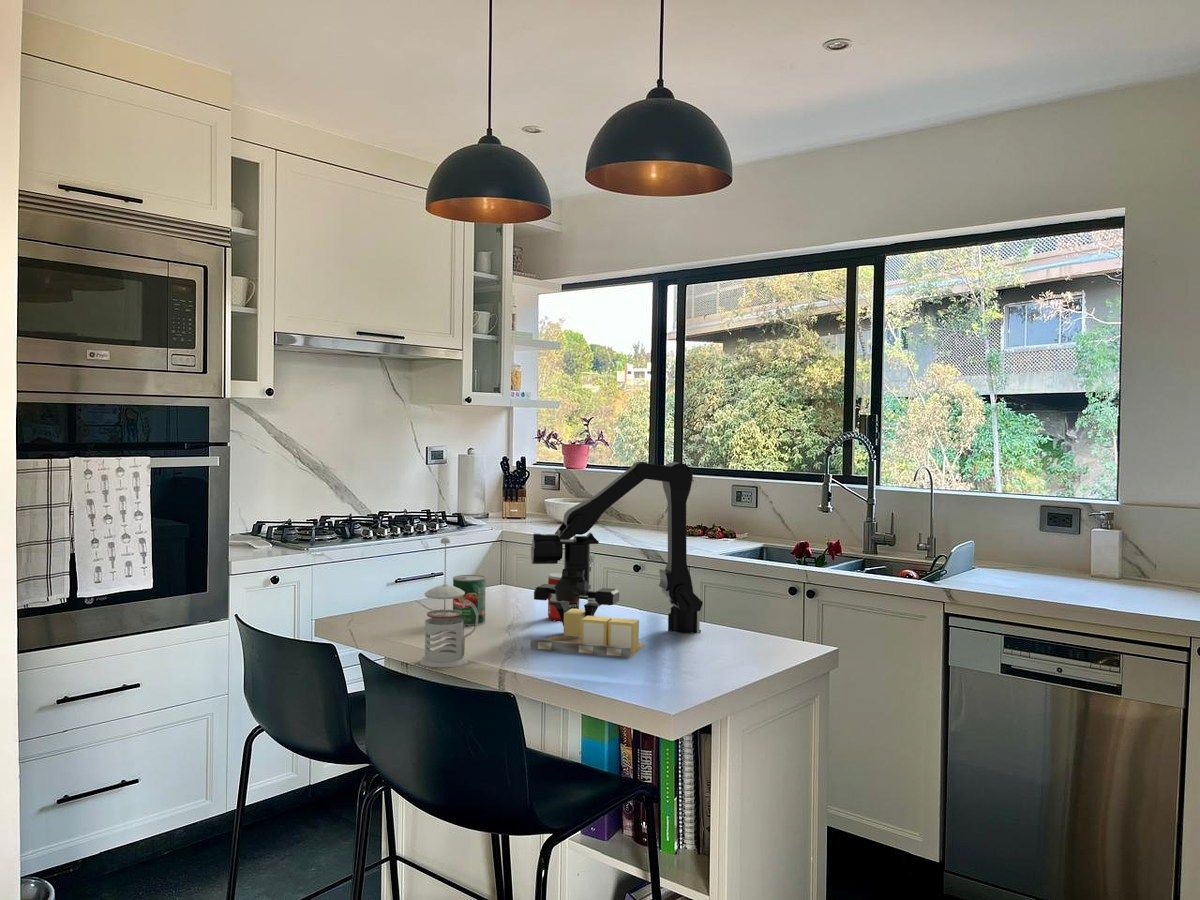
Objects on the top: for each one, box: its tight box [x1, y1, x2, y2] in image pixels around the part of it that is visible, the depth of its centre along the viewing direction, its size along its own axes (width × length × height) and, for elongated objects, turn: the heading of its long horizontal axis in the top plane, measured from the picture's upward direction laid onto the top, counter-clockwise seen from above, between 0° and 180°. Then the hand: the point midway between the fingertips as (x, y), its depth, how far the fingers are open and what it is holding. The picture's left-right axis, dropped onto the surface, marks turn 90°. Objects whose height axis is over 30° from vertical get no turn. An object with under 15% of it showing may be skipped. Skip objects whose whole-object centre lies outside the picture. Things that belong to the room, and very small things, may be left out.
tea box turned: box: [563, 608, 585, 638], centre depth 200 cm, size 6×4×6 cm
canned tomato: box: [452, 574, 487, 626], centre depth 214 cm, size 8×8×11 cm
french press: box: [419, 537, 478, 668], centre depth 178 cm, size 10×12×25 cm
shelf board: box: [529, 635, 646, 660], centre depth 188 cm, size 22×13×3 cm, turn 73°
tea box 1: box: [580, 615, 613, 645], centre depth 188 cm, size 6×4×6 cm
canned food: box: [547, 571, 580, 622], centre depth 220 cm, size 8×8×11 cm
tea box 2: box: [608, 617, 640, 652], centre depth 186 cm, size 6×4×6 cm
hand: (576, 632), depth 200 cm, fingers closed on tea box turned, 4 cm apart
